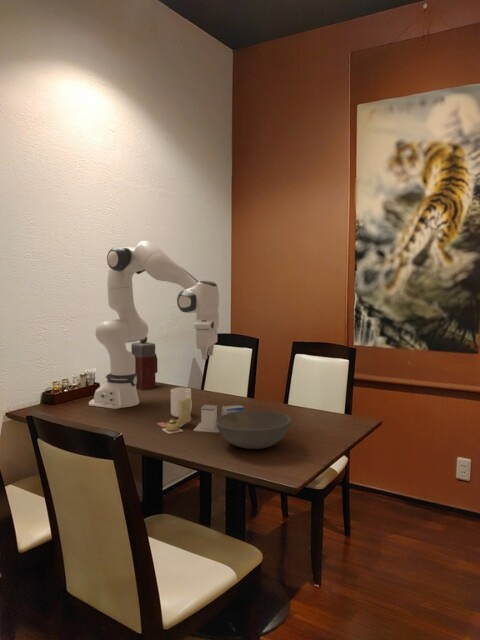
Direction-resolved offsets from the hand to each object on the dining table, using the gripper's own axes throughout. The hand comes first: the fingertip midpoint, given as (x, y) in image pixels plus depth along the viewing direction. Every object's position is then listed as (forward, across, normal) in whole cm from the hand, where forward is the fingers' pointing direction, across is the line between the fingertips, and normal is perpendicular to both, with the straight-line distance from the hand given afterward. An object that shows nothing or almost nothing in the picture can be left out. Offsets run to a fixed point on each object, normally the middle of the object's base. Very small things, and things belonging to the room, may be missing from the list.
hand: (207, 357), depth 205 cm
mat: (+27, +5, +2) cm, 28 cm away
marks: (+27, +7, -13) cm, 31 cm away
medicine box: (+27, +4, +11) cm, 29 cm away
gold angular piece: (+27, +7, -10) cm, 29 cm away
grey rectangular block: (+27, +5, +2) cm, 27 cm away
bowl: (+27, +21, +22) cm, 41 cm away
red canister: (+27, -56, -47) cm, 78 cm away
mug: (+27, -10, -13) cm, 32 cm away
